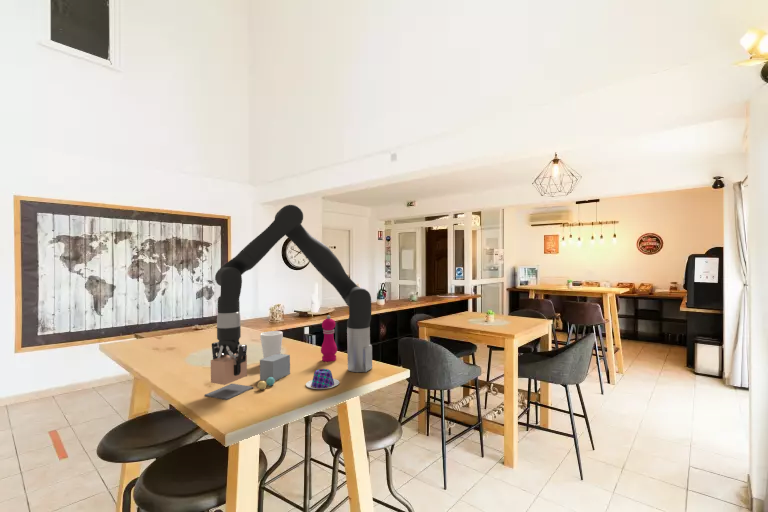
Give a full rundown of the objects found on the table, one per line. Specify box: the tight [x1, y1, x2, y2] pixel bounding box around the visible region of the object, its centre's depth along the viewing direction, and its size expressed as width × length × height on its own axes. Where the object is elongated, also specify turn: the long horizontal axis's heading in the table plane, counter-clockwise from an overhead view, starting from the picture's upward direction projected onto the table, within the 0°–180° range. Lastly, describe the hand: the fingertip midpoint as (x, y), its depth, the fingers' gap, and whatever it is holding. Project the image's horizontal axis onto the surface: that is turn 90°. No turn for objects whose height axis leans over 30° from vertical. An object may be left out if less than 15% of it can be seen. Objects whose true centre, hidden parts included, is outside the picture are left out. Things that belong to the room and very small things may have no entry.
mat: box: [204, 383, 254, 401], centre depth 130 cm, size 10×12×1 cm
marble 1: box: [257, 380, 268, 391], centre depth 132 cm, size 3×3×3 cm
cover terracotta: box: [210, 354, 248, 386], centre depth 130 cm, size 6×10×8 cm, turn 157°
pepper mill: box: [320, 314, 338, 363], centre depth 169 cm, size 7×7×20 cm
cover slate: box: [259, 353, 291, 382], centre depth 146 cm, size 6×10×8 cm, turn 157°
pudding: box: [305, 368, 340, 390], centre depth 136 cm, size 12×12×5 cm
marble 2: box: [265, 377, 276, 387], centre depth 136 cm, size 3×3×3 cm
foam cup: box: [259, 330, 284, 359], centre depth 165 cm, size 10×9×13 cm
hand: (229, 373), depth 130 cm, fingers closed on cover terracotta, 6 cm apart
